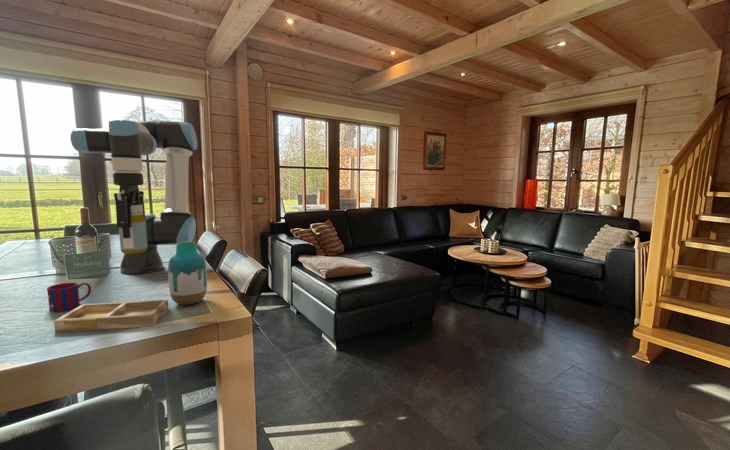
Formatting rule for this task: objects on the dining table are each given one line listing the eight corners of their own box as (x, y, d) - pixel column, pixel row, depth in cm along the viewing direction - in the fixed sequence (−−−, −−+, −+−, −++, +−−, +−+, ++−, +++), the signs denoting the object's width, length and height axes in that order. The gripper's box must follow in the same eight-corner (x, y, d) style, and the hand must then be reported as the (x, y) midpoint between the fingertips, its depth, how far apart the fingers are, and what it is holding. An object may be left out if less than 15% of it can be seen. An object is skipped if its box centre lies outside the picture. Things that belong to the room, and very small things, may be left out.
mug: (46, 308, 98) (44, 286, 97) (89, 299, 106) (87, 278, 105) (53, 314, 94) (50, 291, 93) (96, 304, 102) (94, 282, 101)
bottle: (134, 254, 102) (130, 206, 99) (115, 253, 103) (110, 205, 101) (152, 250, 108) (149, 204, 106) (135, 248, 110) (131, 203, 107)
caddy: (83, 314, 94) (82, 304, 94) (168, 309, 99) (167, 299, 98) (54, 332, 83) (53, 321, 83) (151, 326, 87) (150, 315, 87)
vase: (215, 301, 106) (212, 242, 104) (182, 312, 97) (179, 248, 95) (195, 294, 112) (192, 239, 109) (162, 304, 103) (158, 244, 100)
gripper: (129, 172, 110) (134, 240, 114) (96, 171, 92) (104, 253, 95) (154, 172, 112) (159, 239, 115) (126, 172, 93) (133, 252, 97)
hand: (134, 245), depth 105 cm, fingers closed on bottle, 6 cm apart
